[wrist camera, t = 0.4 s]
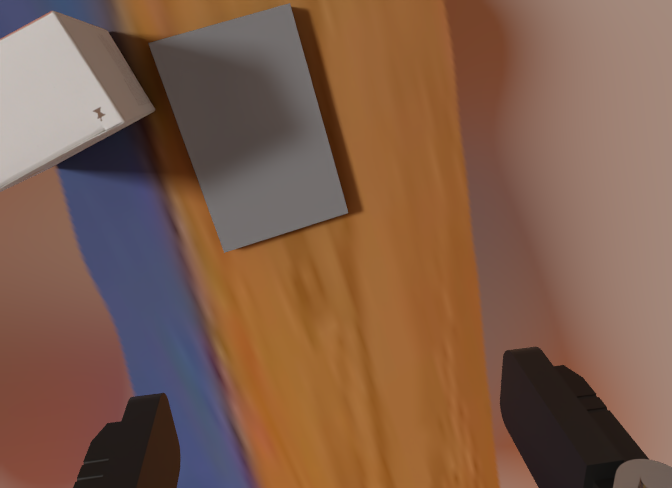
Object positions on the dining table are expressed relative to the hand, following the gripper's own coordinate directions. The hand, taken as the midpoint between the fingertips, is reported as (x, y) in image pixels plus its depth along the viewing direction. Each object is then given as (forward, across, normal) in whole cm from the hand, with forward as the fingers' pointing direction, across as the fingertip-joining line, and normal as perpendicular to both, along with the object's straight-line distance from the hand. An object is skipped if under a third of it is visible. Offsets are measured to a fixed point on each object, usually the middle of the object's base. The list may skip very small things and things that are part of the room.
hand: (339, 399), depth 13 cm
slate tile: (+27, +3, 0) cm, 27 cm away
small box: (+27, +13, -3) cm, 30 cm away
